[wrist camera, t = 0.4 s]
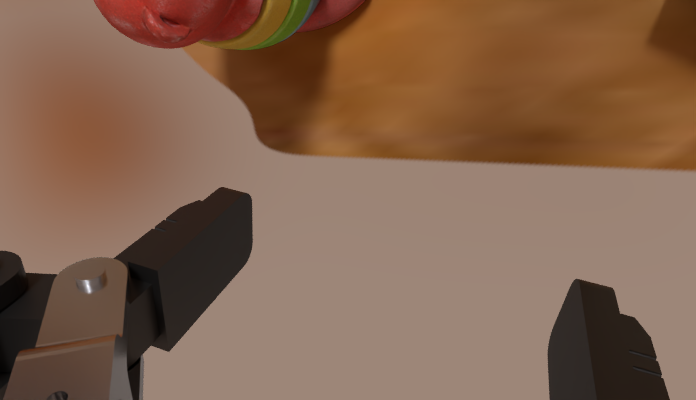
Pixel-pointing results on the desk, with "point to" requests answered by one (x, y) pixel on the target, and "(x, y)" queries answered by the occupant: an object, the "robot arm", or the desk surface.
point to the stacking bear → (221, 20)
